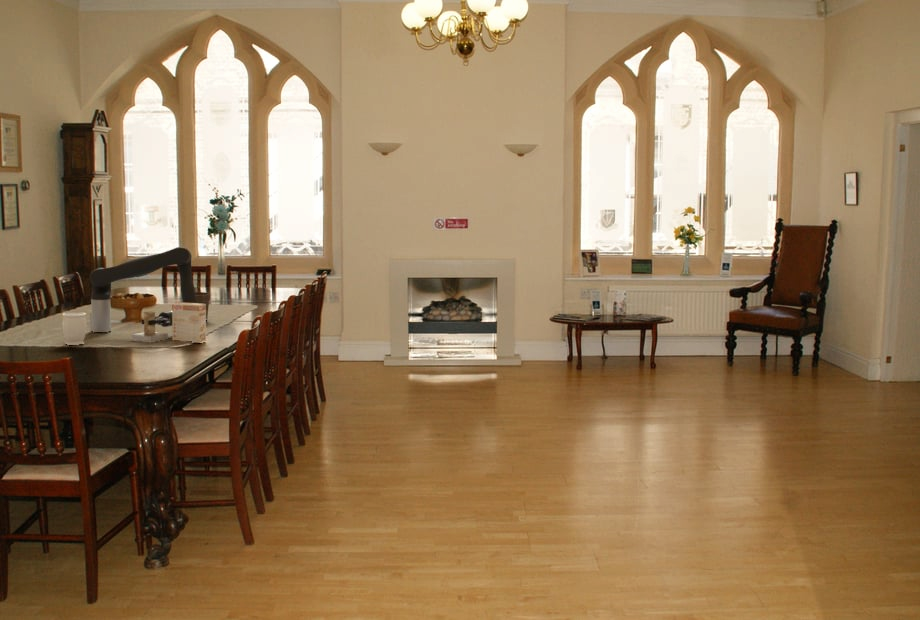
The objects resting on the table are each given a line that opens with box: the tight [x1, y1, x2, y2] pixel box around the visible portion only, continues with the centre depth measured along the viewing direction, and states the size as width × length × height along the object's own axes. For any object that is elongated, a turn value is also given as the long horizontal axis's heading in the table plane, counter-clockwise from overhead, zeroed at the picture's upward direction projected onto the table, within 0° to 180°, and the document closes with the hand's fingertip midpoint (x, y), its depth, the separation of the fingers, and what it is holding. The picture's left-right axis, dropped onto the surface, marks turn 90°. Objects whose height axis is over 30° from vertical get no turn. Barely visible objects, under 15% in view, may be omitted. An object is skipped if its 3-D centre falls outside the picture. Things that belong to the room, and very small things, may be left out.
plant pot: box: [195, 291, 212, 320], centre depth 510 cm, size 16×16×16 cm
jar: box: [61, 311, 87, 346], centre depth 424 cm, size 11×10×15 cm
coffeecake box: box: [171, 301, 207, 342], centre depth 440 cm, size 15×7×20 cm, turn 74°
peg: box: [143, 310, 156, 335], centre depth 438 cm, size 4×4×14 cm
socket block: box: [130, 331, 169, 344], centre depth 438 cm, size 12×12×4 cm
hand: (145, 322), depth 435 cm, fingers closed on peg, 3 cm apart
